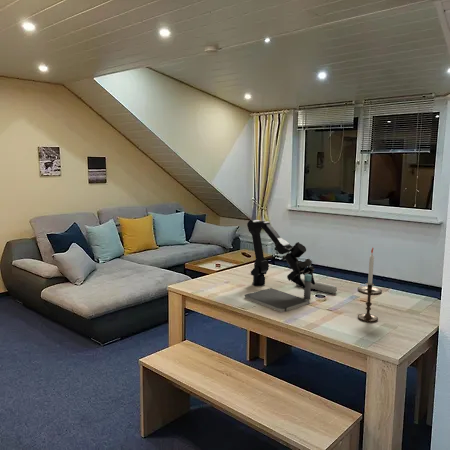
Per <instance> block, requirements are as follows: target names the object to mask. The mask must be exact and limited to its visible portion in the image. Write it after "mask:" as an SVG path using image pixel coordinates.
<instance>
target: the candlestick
mask: <svg viewBox="0 0 450 450" xmlns="http://www.w3.org/2000/svg"><path fill="white" fill-rule="evenodd" d="M370 252H371V254H370V255H369V261H368V276H367V277H368V279H367V282H366V283H365V285H366V286H365V285H364V286H363V285H361V286H359V287H357V289H356V290H357V292H358V293H360V294H362V295H367V300H366V302H365V305H366V307H365V310H366V313H359V314H358V315H357V320H359V321H361V322H363V323H377V322H379V318H378V316H376V315H374V314H371V313H370V312H371V310H372V308H371V307H372V304H373V303H372V302H371V299H372V297H371V296H379V295H382V293H383V290H382V289H381V288H378V287H375V284H374V283H373V276H374V261H375V260H374V259H375V256H374V247H372V248H371V251H370Z"/></svg>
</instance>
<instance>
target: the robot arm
mask: <svg viewBox="0 0 450 450" xmlns="http://www.w3.org/2000/svg"><path fill="white" fill-rule="evenodd" d="M246 225H247V230H248V232H249V233H250V234H251V238H252V245H253V250H254V251H253V252H254V255H255V261H254V264H253V265H254V266H253V267H254V268H252V270H251V271H250V275H251V276H252V282H251V283H252V285H253V286H254V287H262V286H263V287H264V286H265V284H266V276H265V275H267V273H268V270H269V268H270V265H269V260H268V259H266V258H265V255H264V249H263V244H262V237H261V233H262V229H263V231H264V232H265V233H266V234H267V236H268V237H269V238H270V240H271V241H272V242H273V243H274V246H275V249H276V251H277V253H278V254H279V255H282V259H281V261H286V263H287V264H288V265H289V270H292V271H290V273H288V274H287V277H286V278H287V281H289V282H292V283H295V285H296V284H298V285H299V286H298V287H301V288H303V289H304V288H305V285H304V283H303V281H302V280H301V278H302V277H301V275H303V276H304V275H305V274H310V275H312V278H311V283H312V284H313V285H314V284H315V281H316V280H315V279H314V272H315V267H314V266H313V265H312V263H313V261H312V260H311V259H310V258H309V257H308V258H306V259H305V260H304V261H302V260H299V259H298V258H300V257H302V256H303V255H304V254H305V253H306V252H307V247H306V246H305V245H303V244H302V243H300V242H296V243H294V245H291V243H289V242H288V241H287V240H285V239H284V238H282V237H281V235H279V233H278V232H277V231H276V229H274V227H273V226H272V224H271V222H270V221H267V220H266V221H264V220H260V219H250V220H249V221H247V223H246Z"/></svg>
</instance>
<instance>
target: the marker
mask: <svg viewBox="0 0 450 450" xmlns="http://www.w3.org/2000/svg"><path fill="white" fill-rule="evenodd" d="M303 276H304V277H303V279H304V285H305V288H303V299H306V300H311V295H312V292H311V290H312V289H311V278H312V275H310V274H305V275H303Z"/></svg>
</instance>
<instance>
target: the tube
mask: <svg viewBox="0 0 450 450" xmlns="http://www.w3.org/2000/svg"><path fill="white" fill-rule="evenodd" d="M301 280H302V281H303V283H304V277H301ZM314 281H315V284H314V285H313V284H312V283H311V290H314V289H315V291H319V292H323V293H329V294H332V295H333V294H336V293H337V291H338V288H337V286H336V285H333V284H329V283H324V282H321V281H316V280H314ZM295 285H296V286H297V287H300V286H299V285H298V284H296V283H295Z"/></svg>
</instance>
